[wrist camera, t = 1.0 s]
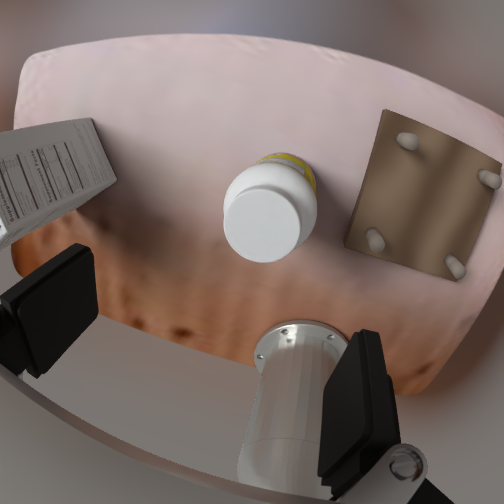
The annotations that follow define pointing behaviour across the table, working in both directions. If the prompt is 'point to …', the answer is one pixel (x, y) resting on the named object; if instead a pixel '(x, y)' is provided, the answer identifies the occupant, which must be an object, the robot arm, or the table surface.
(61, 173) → the supplement box
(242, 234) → the supplement bottle
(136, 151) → the table surface
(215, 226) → the table surface
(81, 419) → the robot arm
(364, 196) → the board
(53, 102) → the table surface
